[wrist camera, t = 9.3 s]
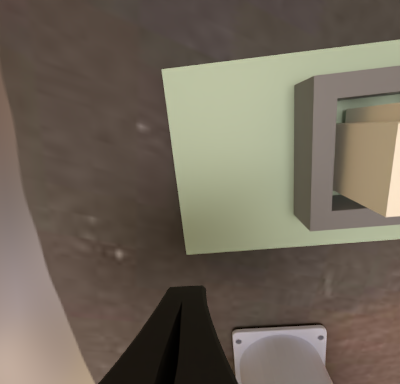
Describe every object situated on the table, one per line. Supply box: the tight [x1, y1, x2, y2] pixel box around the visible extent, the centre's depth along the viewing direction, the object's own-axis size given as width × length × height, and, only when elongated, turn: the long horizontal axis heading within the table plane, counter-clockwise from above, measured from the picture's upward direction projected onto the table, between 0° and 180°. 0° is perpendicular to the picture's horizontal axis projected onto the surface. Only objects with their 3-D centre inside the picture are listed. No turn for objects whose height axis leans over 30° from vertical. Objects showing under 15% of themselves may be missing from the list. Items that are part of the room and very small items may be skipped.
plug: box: [333, 102, 400, 217], centre depth 12 cm, size 5×4×6 cm
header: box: [162, 40, 400, 255], centre depth 15 cm, size 13×17×4 cm
